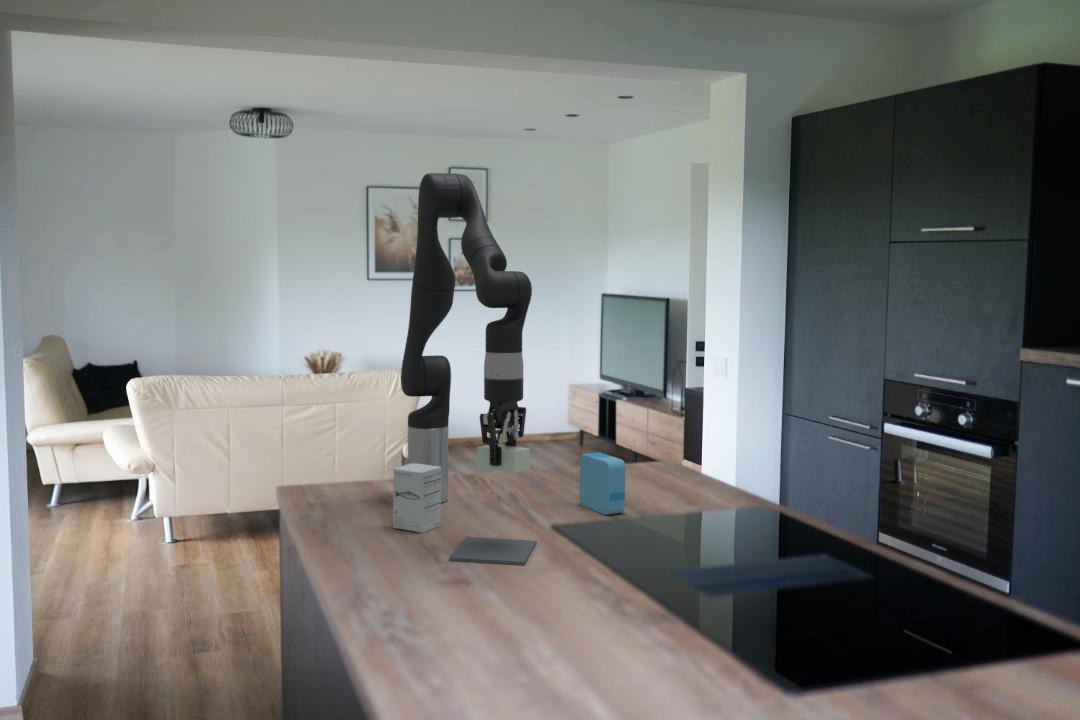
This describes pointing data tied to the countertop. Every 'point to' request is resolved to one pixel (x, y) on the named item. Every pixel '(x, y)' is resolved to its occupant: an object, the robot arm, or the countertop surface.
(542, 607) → the countertop surface
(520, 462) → the box
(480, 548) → the mat
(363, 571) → the countertop surface
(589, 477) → the blue box
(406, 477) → the supplement box
